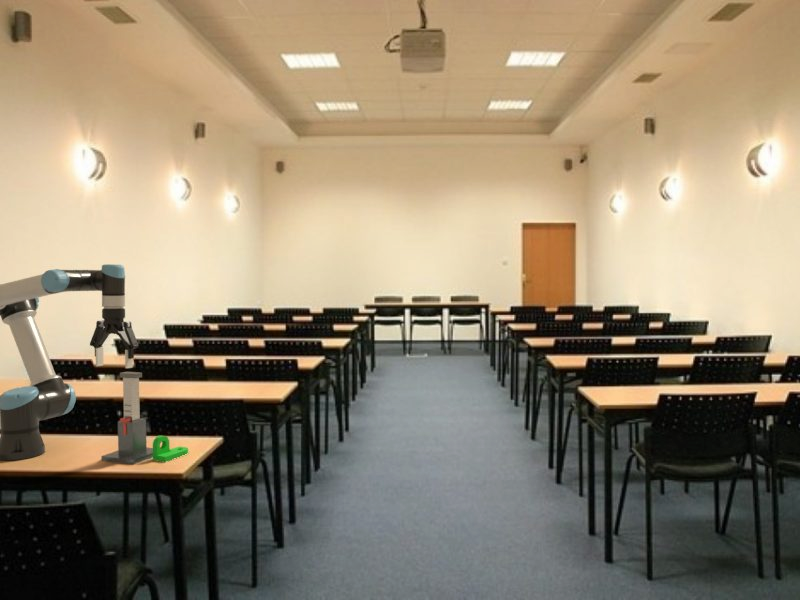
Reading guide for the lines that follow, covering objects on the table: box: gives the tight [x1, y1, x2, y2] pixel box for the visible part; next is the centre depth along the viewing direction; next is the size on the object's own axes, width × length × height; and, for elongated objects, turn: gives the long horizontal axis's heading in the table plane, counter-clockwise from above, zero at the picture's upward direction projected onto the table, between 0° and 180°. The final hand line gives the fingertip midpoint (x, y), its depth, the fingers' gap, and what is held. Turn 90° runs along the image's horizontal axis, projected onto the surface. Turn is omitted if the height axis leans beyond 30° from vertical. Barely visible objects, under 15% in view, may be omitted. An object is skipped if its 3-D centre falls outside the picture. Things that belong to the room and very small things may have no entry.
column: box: [119, 371, 143, 422], centre depth 220 cm, size 7×4×28 cm, turn 70°
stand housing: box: [100, 417, 153, 465], centre depth 220 cm, size 14×14×14 cm
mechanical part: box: [152, 435, 189, 463], centre depth 220 cm, size 12×6×8 cm, turn 153°
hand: (114, 366), depth 225 cm, fingers open, 13 cm apart
